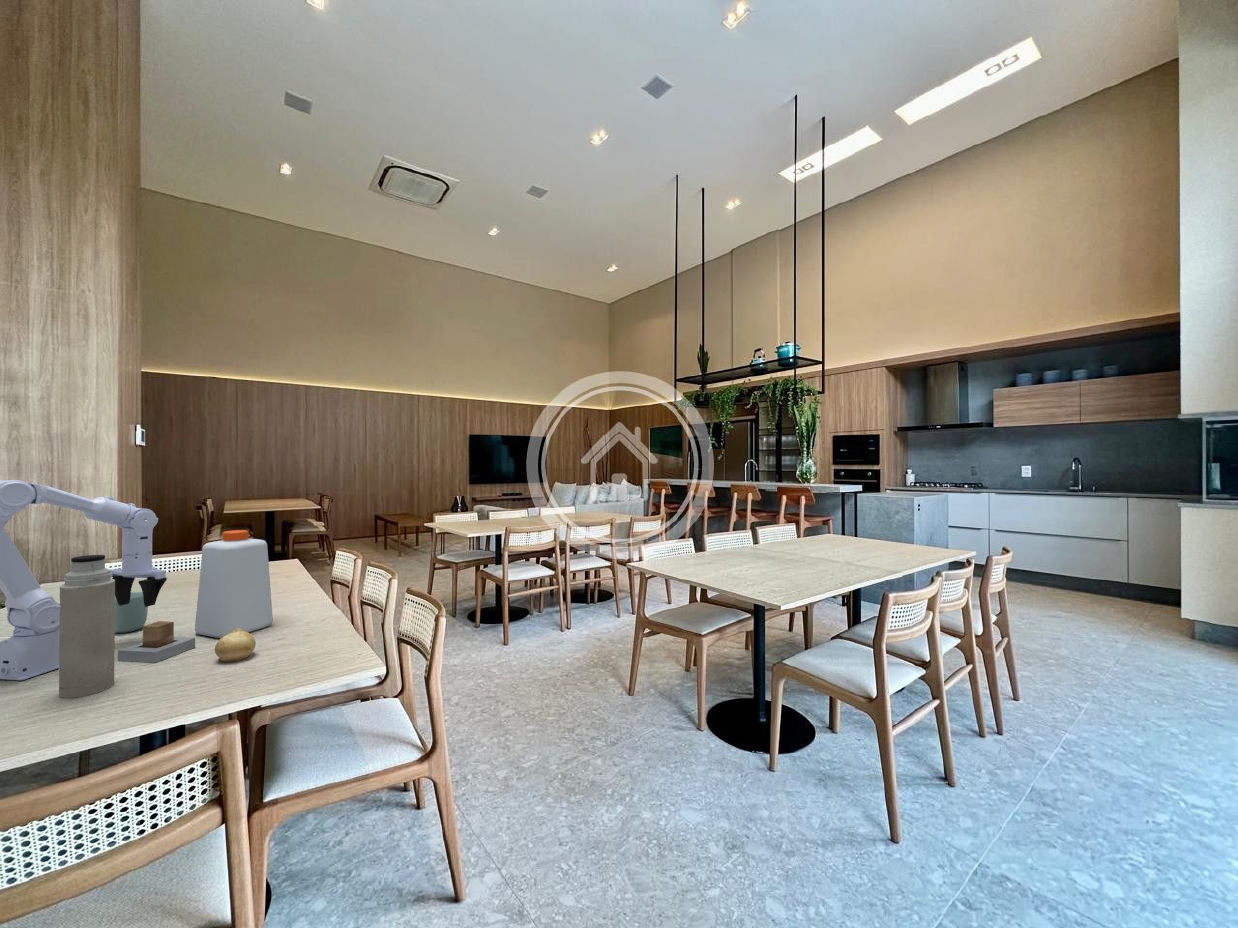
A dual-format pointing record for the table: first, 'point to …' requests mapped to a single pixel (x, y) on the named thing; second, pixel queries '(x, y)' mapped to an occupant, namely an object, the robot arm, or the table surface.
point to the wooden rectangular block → (158, 634)
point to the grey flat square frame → (156, 651)
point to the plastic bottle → (233, 586)
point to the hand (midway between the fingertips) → (136, 605)
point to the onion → (235, 645)
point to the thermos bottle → (86, 628)
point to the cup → (130, 614)
